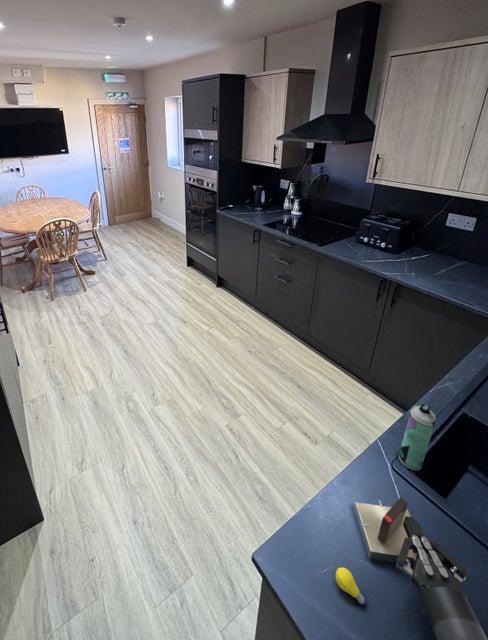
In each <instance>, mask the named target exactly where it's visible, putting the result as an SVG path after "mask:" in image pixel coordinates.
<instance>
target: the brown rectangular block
mask: <svg viewBox="0 0 488 640" xmlns="http://www.w3.org/2000/svg"><path fill="white" fill-rule="evenodd" d="M408 505H409V502H408V501H407V500H406V499H405V498H403V497H402V496H400V497H399V498H398V499H397V500H396V502H395V503H394V504H393V505H392V506H390V507H391V509H390V510H389V511H388V512H387V513H386V514H385V516H384V517H383V518H382V522H381V526H380V530H379V533H378V538H379V539H380V540H381V541H382V542H383V543H384V544H385V543H386V542H387V540H388V539H389V538H390V537H391V535H392V534H393V533H394V532H395V530H396V529H397V528H398V527H399V525H400V524H401V523H402V522H403V519H404V515H405V512H406V509H408Z"/></svg>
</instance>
